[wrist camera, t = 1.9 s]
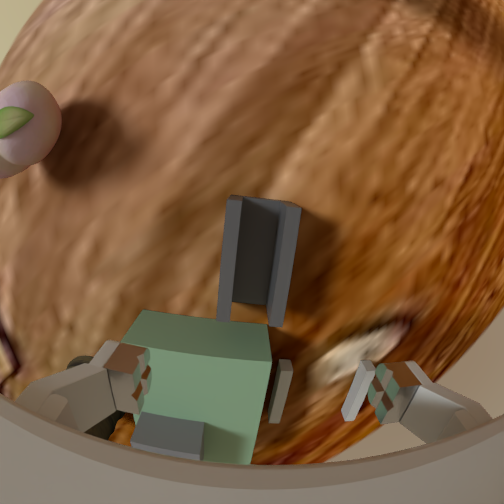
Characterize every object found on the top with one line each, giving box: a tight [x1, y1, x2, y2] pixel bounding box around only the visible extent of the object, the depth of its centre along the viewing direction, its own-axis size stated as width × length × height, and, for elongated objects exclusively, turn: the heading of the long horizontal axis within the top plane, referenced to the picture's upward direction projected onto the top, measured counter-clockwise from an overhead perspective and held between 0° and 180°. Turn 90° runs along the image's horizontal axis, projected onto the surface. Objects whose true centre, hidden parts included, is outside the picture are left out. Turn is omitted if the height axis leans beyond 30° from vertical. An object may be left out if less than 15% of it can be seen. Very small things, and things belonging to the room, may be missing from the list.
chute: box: [216, 195, 302, 327], centre depth 22 cm, size 5×9×5 cm, turn 173°
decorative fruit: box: [0, 81, 62, 178], centre depth 16 cm, size 9×8×10 cm
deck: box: [121, 310, 376, 465], centre depth 23 cm, size 16×24×11 cm, turn 83°
